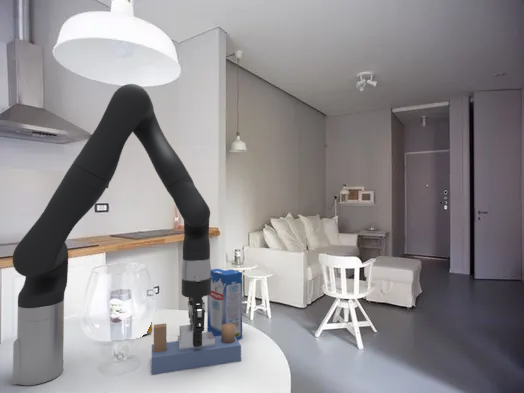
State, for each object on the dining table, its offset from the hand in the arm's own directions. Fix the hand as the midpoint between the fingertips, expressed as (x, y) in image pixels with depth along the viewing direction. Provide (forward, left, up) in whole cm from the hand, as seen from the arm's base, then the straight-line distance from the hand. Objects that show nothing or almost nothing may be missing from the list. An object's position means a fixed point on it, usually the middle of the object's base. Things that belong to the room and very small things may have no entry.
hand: (196, 341), depth 86 cm
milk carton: (+10, +13, -5) cm, 18 cm away
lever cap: (0, 0, -1) cm, 1 cm away
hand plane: (0, 0, -5) cm, 5 cm away
